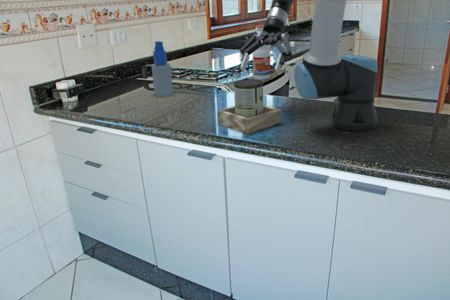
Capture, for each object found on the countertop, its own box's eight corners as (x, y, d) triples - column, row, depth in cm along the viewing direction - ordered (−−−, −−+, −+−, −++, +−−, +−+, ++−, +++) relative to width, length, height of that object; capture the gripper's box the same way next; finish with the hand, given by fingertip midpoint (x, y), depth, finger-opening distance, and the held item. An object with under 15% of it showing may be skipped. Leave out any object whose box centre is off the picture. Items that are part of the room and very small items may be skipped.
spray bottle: (157, 97, 178) (151, 43, 168) (152, 93, 186) (146, 41, 176) (175, 94, 181) (170, 41, 172) (170, 91, 189) (164, 39, 179)
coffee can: (236, 116, 140) (234, 79, 135) (263, 116, 139) (263, 78, 134) (233, 125, 131) (232, 85, 126) (263, 125, 130) (263, 85, 124)
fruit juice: (266, 76, 213) (265, 24, 203) (272, 79, 205) (273, 25, 194) (250, 77, 211) (249, 25, 200) (256, 80, 202) (256, 26, 192)
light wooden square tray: (280, 123, 134) (281, 109, 132) (248, 134, 125) (247, 120, 123) (250, 114, 146) (250, 101, 144) (218, 124, 137) (217, 110, 135)
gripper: (309, 30, 140) (294, 78, 133) (249, 30, 151) (232, 74, 145) (305, 15, 133) (289, 65, 127) (242, 17, 145) (225, 62, 139)
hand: (259, 70), depth 136 cm, fingers open, 13 cm apart
